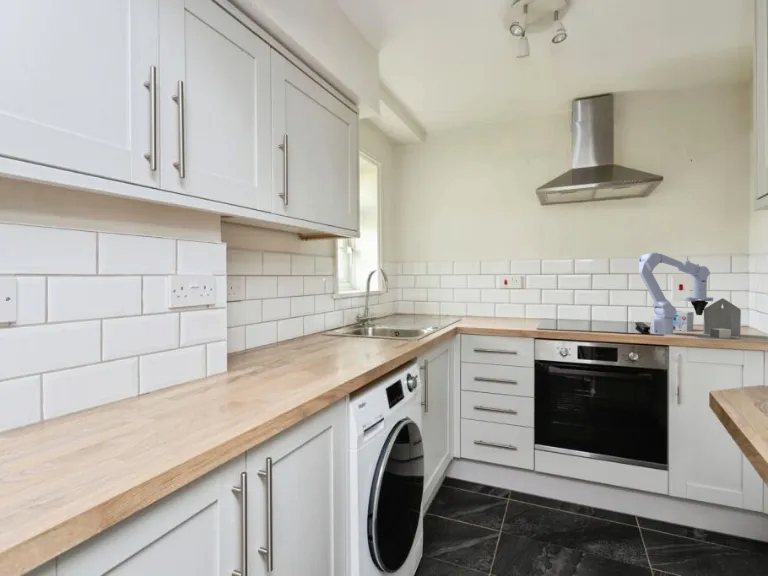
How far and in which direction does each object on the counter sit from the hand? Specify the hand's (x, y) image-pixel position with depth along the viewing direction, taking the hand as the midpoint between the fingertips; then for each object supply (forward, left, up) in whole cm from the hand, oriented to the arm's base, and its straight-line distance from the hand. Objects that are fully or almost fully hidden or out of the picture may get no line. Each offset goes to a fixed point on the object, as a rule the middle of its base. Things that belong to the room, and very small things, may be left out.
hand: (699, 315), depth 206 cm
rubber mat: (+3, -12, -10) cm, 16 cm away
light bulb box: (-3, +19, -11) cm, 22 cm away
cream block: (+3, -12, -8) cm, 15 cm away
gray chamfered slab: (+10, +6, -11) cm, 16 cm away
